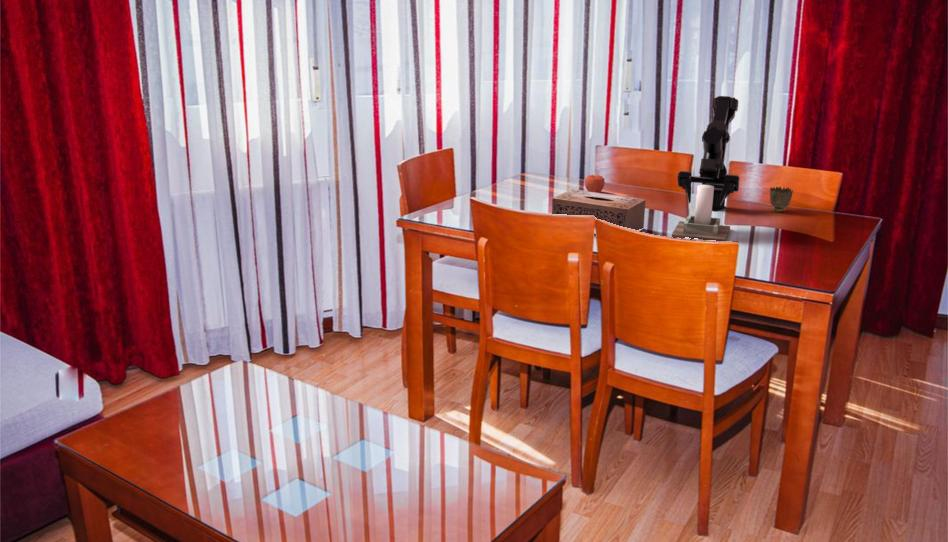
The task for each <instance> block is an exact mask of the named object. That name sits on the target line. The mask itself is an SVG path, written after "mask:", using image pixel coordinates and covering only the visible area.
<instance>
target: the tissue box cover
mask: <svg viewBox="0 0 948 542" xmlns="http://www.w3.org/2000/svg"><path fill="white" fill-rule="evenodd" d="M551 204H552V205H551V215H552V214H567V215H594V216H595V217H596V218H597V219H601V220H605V221H607V222H610V223H613V224H616V225H619V226H623V227H627V228H631V229H635V230H639V229H642V228H644V229H645V226H644V225H645V212H646V211H645V210H646V199H644V198H637V197H632V196H631V197H630V196H622V195H617V194H609V193H601V192H600V193H596V192H589V191H587V190H580V189H575V188H574V189H570V190H567V191H565V192H563V193H561V194H559V195H556V196H554V197H552V200H551Z"/></svg>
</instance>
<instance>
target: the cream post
mask: <svg viewBox="0 0 948 542" xmlns="http://www.w3.org/2000/svg"><path fill="white" fill-rule="evenodd" d="M696 188H697V189H696V198H695V210H694V216H695V219H694V224H704V225H710V224H711V218H712V211H713V210H712V204H713V194H714V186H711V185H702V184H698V185H697V187H696Z"/></svg>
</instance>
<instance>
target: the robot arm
mask: <svg viewBox="0 0 948 542" xmlns="http://www.w3.org/2000/svg"><path fill="white" fill-rule="evenodd" d="M738 109H739V99H737V98H736V97H731V96H729V95H728V96H727V95H718V96H716V97H713V98H712V103H711V110H712V111H713V118H712V122H711V123H709V124H707V126H706V130H704V132H703V133H702V135H701V142H702V145H703V146H702V147H703V157H702V158H701V160H700V166H699V171H698V173H699V176H698V175H692V171H689V170H679V171H678V174H677V186H678V187H680V188H681V189H682V190H685V192H686V195H687V202H688V204H691V201H692V184H693V183H698V184H701V185H711V186H714V194H713V204H712V211H715V212H716V211H720V210H724V209H727V206H725V204H726V199H727V197H728V196H730V195H731V194H734V193H735V192H738V191H739V189H740V176H739V174H728V170H727V167H726V166H725V156H726V152H727V151H726V150H727V144H728V143H729V142H730V140H731V135H730V133H729V128H730V123H731V122H732V121H733V120H734V119H735V117H736V112H738Z"/></svg>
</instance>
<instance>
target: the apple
mask: <svg viewBox="0 0 948 542" xmlns="http://www.w3.org/2000/svg"><path fill="white" fill-rule="evenodd" d="M605 183H606V182H605V178H604V177H603V176H601V175H599V173H597V174H590V175H587V176H586V177H585V179H584V186H585V189H586V191H589V192H596V193H601V192H602V190H604V186H605Z"/></svg>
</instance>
